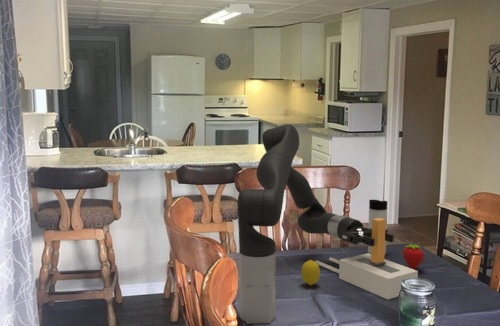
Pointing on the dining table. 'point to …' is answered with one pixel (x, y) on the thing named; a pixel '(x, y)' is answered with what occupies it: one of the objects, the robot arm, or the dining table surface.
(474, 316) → the dining table surface
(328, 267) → the cords
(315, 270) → the lemon
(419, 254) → the strawberry
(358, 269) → the switch box
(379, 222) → the handle
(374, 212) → the travel mug
